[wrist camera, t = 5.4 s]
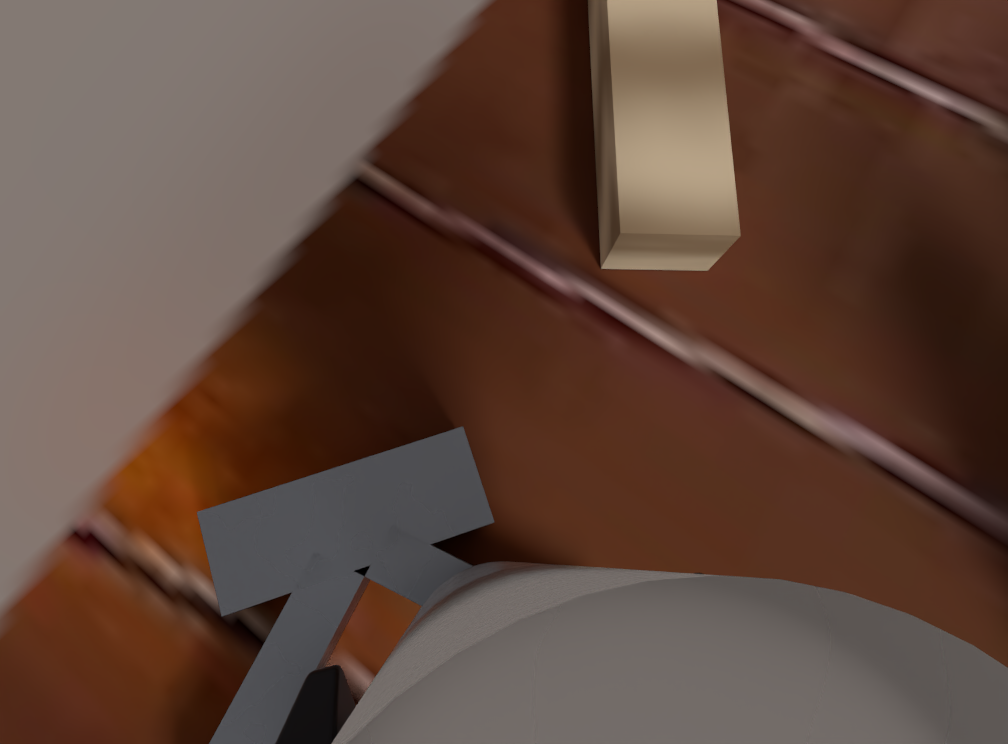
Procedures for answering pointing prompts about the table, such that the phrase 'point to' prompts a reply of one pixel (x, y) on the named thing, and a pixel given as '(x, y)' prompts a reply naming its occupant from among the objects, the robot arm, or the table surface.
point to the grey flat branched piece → (335, 559)
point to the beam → (661, 135)
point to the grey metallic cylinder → (672, 665)
